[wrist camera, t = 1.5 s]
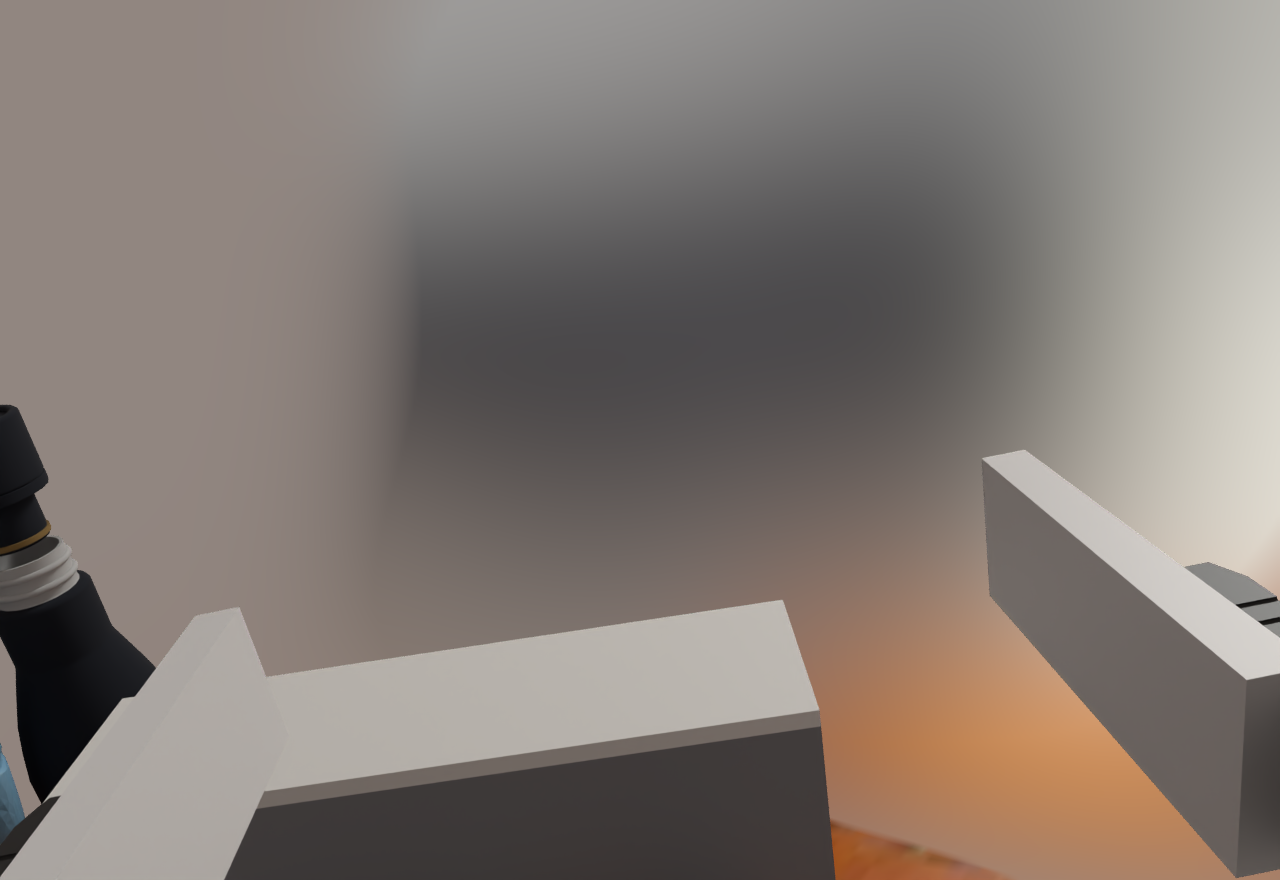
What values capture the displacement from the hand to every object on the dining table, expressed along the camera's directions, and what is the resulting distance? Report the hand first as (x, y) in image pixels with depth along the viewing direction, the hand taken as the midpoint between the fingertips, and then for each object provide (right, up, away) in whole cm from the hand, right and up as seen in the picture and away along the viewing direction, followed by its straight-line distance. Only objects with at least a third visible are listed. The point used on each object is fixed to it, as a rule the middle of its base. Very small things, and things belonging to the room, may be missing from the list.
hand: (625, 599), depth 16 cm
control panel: (-3, -25, +22) cm, 33 cm away
